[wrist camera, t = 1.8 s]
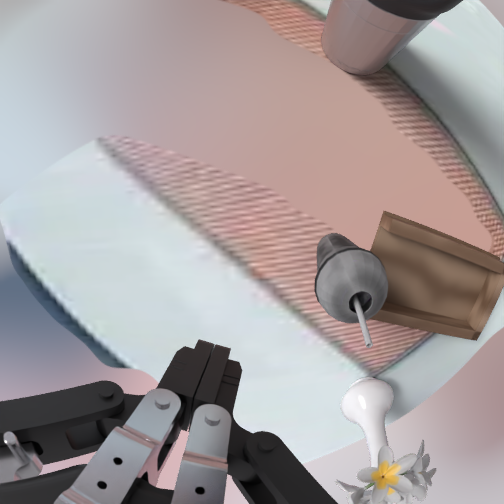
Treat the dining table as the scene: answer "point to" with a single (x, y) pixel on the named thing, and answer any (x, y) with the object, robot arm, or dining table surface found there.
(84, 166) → the dining table surface
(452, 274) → the u rest
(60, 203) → the dining table surface
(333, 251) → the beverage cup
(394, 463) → the flower vase
